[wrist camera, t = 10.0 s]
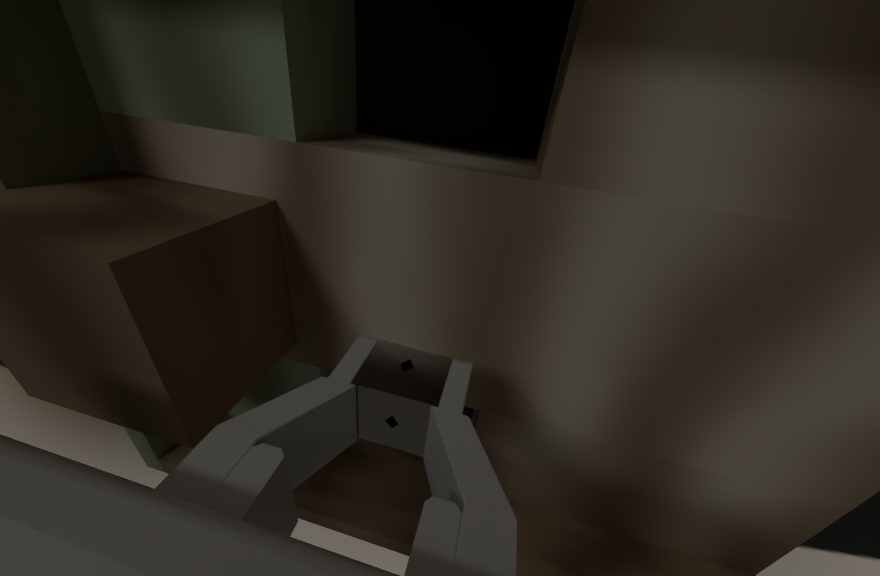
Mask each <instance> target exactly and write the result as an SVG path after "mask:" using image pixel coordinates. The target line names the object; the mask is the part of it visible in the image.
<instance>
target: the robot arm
mask: <svg viewBox="0 0 880 576" xmlns="http://www.w3.org/2000/svg"><path fill="white" fill-rule="evenodd" d="M472 367H473V363H472V362H469V361H465V360H460V359H456V358H451V357H446V356H442V355H438V354H434V353H430V352H426V351H422V350H417V349H413V348H410V347H406V346H402V345H399V344H395V343H391V342H388V341H384V340H379V339H375V338H372V337H368V336H364V335H361V336H360V337H358V338H357V339H356V340H355V342H354V343H353V345H352V346H351V347H350V349H349V350H348V351H347V353H346V354H345V355H344V357H343V358H342V360H341V361H340V362H339V364H338V365H337V366H336V368H335V369H334V370H333V372H332V373H331V374H330V376H329V377H328V378H327V377H323V376H322V377H320V378H318V379H316V380H314V381H311V382H309V383H307V384H305V385H303V386H301V387H299V388H296V389H294V390H292V391H290V392H288V393H286V394H283V395H281V396H279V397H277V398H275V399H273V400H271V401H268V402H266V403H264V404H262V405H260V406H258V407H256V408H253V409H251V410H249V411H247V412H245V413H243V414H241V415H238V416H236V417H234V418H232V419H230V420H228V421H226V422H223V423H221V424H219V425H217V426H216V427H215V428H214V429H213V430H212V431H211V432H210V433H209V434H208V435H207V436H206V437H205V438H204V439H203V440H202V441H201V442H200V443H199V444H198V445H197V446H196V447H195V448H194V449H193V450H192V451H191V452H190V453H189V454H188V455H187V456H186V457H185V458H184V459H183V460H182V461H181V463H180V464H179V465H178V466H177V467H176V468H175V469H174V470H173V471H172V472H171V473H170V474H169V475H168V476H167V477H166V478H165V479H164V480H163V481H162V482H161V483H160V484H159V485H158V486H157V487H156V488H155V489H153V488H150V487H148V486H145V485H142V484H139V483H136V482H133V481H131V480H128V479H125V478H122V477H119V476H116V475H114V474H111V473H108V472H105V471H102V470H99V469H97V468H94V467H91V466H88V465H85V464H82V463H80V462H77V461H73V460H71V459H68V458H65V457H62V456H60V455H56V454H54V453H51V452H48V451H46V450H43V449H40V448H37V447H34V446H31V445H29V444H26V443H23V442H20V441H17V440H14V439H12V438H9V437H6V436H2V435H0V576H399V575H396V574H393V573H391V572H388V571H385V570H382V569H379V568H377V567H374V566H371V565H368V564H365V563H362V562H360V561H357V560H354V559H351V558H348V557H345V556H343V555H340V554H337V553H334V552H331V551H328V550H326V549H322V548H320V547H317V546H314V545H311V544H309V543H306V542H303V541H300V540H297V539H295V538H292V537H290V535H291V533H292V531H293V530H294V528H295V526H296V524H297V522H298V519H297V513H296V508H295V504H294V499H293V495H292V490H293V489H295V488H296V487H297V486H299V485H300V484H301V483H302V482H304V481H305V480H306V479H308V478H309V477H310V476H311V475H313V474H314V473H315V472H317V471H318V470H319V469H320V468H322V467H323V466H324V465H326V464H327V463H328V462H329V461H331V460H332V459H333V458H335V457H336V456H337V455H338V454H340V453H341V452H342V451H344V450H345V449H346V448H347V447H349V446H350V445H351V444H353V443H354V442H355V441H356V440H357V438H360V439H364V440H368V441H371V442H375V443H379V444H383V445H387V446H390V447H393V448H396V449H399V450H403V451H406V452H409V453H412V454H415V455H418V456H421V457H424V458H423V460H424V464H425V468H426V473H427V477H428V481H429V485H430V489H431V494H432V497H431V498H429V499H428V500H426V501H425V503H424V506H423V510H422V514H421V517H420V521H419V524H418V528H417V532H416V535H415V539H414V543H413V546H412V550H411V554H410V557H409V561H408V564H407V568H406V572H405V575H404V576H516V547H517V519H516V517H515V515H514V513H513V510H512V508H511V506H510V504H509V502H508V500H507V498H506V495H505V493H504V491H503V489H502V487H501V485H500V482H499V480H498V478H497V476H496V474H495V472H494V470H493V467H492V465H491V463H490V461H489V459H488V457H487V455H486V452H485V450H484V448H483V446H482V444H481V442H480V439H479V437H478V435H477V433H476V431H475V429H474V427H473V424H472V422H471V420H470V418H469V416H466V415H463V410H464V405H465V400H466V396H467V391H468V386H469V381H470V377H471V372H472Z"/></svg>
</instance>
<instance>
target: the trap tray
mask: <svg viewBox="0 0 880 576" xmlns="http://www.w3.org/2000/svg"><path fill="white" fill-rule="evenodd" d="M118 171H128V172H133V173H138V174H143V175H148V176H154V177H159V178H164V179H169V180H175V181H180V182H185V183H190V184H196V185H201V186H206V187H211V188H216V189H222V190H227V191H232V192H237V193H243V194H248V195H253V196H258V197H264V198H269V199H274V200H276V202H277V209H278V216H279V223H280V230H281V237H282V243H283V250H284V257H285V264H286V271H287V278H288V284H289V291H290V298H291V305H292V312H293V318H294V325H295V332H296V339H297V343H296V344H295V345H294V346H293V347H292V348H291V349H290V350H289V351H288V352H287V353H286V354H285V355H284V356H283V357H282V358H281V359H280V360H279V361H278V362H277V363H276V364H275V365H274V366H273V367H272V368H271V369H270V370H269V371H268V372H267V373H266V374H265V375H264V377H263V378H262V379H261V380H260V381H259V382H258V383H257V384H256V385H255V386H254V387H253V388H252V389H251V390H250V391H249V392H248V393H247V394H246V395H245V396H244V397H243V398H242V399H241V400H240V401H239V402H238V403H237V404H236V405H235V406H234V407H233V408H232V409H231V410H230V411H229V412H228V413H227V415H226V416H225V417H224V418H223V419H222V420H221V421H220V422H219V423H218V424H217V425H219V424H221V423H223V422H226V421H228V420H230V419H232V418H234V417H236V416H238V415H241V414H243V413H245V412H247V411H249V410H251V409H253V408H256V407H258V406H260V405H262V404H264V403H266V402H268V401H271V400H273V399H275V398H277V397H279V396H281V395H283V394H286V393H288V392H290V391H292V390H294V389H296V388H299V387H301V386H303V385H305V384H307V383H309V382H311V381H314V380H316V379H318V378H320V377H322V376H323V377H327V378H328V377H329V376H330V374H331V373H332V372H333V370H334V369H335V368H336V366H337V365H338V364H339V362H340V361H341V360H342V358H343V357H344V355H345V354H346V353H347V351H348V350H349V349H350V347H351V346H352V345H353V343H354V342H355V340H356V339H357V338H358V337H360V336H361V335H364V336H368V337H372V338H375V339H379V340H384V341H388V342H391V343H395V344H399V345H402V346H406V347H410V348H413V349H417V350H422V351H426V352H430V353H434V354H438V355H442V356H446V357H451V358H456V359H460V360H465V361H469V362H472V363H473V367H472V372H471V377H470V381H469V386H468V391H467V396H466V400H465V405H464V406H465V407H469V408H473V409H474V413H473V417H472V418H470V420H471V422H472V424H473V427H474V429H475V431H476V433H477V435H478V437H479V439H480V442H481V444H482V446H483V448H484V450H485V452H486V455H487V457H488V459H489V461H490V463H491V465H492V467H493V470H494V472H495V474H496V476H497V478H498V480H499V482H500V485H501V487H502V489H503V491H504V493H505V495H506V498H507V500H508V502H509V504H510V506H511V508H512V510H513V513H514V515H515V517H516V519H517V547H516V576H756V574H758V573H759V572H761V571H762V570H764V569H765V568H766V567H768V566H770V565H771V564H772V563H774V562H775V561H777V560H778V559H780V558H781V557H783V556H784V555H786V554H787V553H789V552H790V551H792V550H793V549H795V548H796V547H798V546H799V545H801V544H802V543H804V542H805V541H807V540H808V539H809V538H811V537H812V536H814V535H815V534H817V533H818V532H820V531H821V530H823V529H824V528H826V527H827V526H829V525H830V524H832V523H833V522H835V521H836V520H838V519H839V518H840V517H842V516H843V515H845V514H846V513H848V512H849V511H851V510H852V509H854V508H855V507H857V506H858V505H860V504H861V503H863V502H864V501H866V500H867V499H869V498H870V497H871V496H873V495H874V494H876V493H877V492H879V491H880V0H575V2H574V6H573V10H572V14H571V18H570V22H569V26H568V30H567V34H566V38H565V42H564V46H563V50H562V54H561V58H560V63H559V67H558V71H557V75H556V79H555V83H554V87H553V91H552V95H551V99H550V103H549V107H548V111H547V115H546V120H545V124H544V128H543V132H542V136H541V140H540V144H539V148H538V152H537V156H536V159H529V158H522V157H516V156H509V155H503V154H496V153H490V152H483V151H477V150H470V149H463V148H457V147H450V146H444V145H437V144H431V143H424V142H417V141H411V140H404V139H398V138H391V137H385V136H378V135H371V134H365V133H358V132H357V102H356V44H355V0H0V191H1V190H7V189H13V188H20V187H26V186H32V185H38V184H44V183H50V182H56V181H63V180H69V179H75V178H81V177H87V176H93V175H99V174H106V173H112V172H118ZM217 425H216V426H217ZM216 426H215V427H216ZM215 427H214V428H215ZM124 428H125V429H126V431H127V433H128V434H129V436H130V438H131V439H132V441H133V443H134V445H135V446H136V448H137V450H138V451H139V453H140V455H141V456H142V458H143V460H144V461H145V463H146V464H147V466H148V467H151V468H154V469H157V470H160V471H163V472H166V473H169V474H170V473H171V472H172V471H173V470H174V469H175V468H176V467H177V466H178V465H179V464H180V463H181V461H182V460H183V459H184V458H185V457H186V456H187V455H188V454H189V453H190V452H191V451H192V450H193V449H194V448H195V447H196V446H197V445H198V444H199V443H200V442H201V441H202V440H203V439H204V438H205V437H206V436H207V435H208V434H209V433H210V432H211V431H212V430H213V429H214V428H213V429H212V430H211V431H210V432H209V433H208V434H207V435H206V436H205V437H204V438H203V439H202V440H201V441H200V442H199V443H198V444H197V445H196V446H195V447H194V448H193V449H191V448H188V447H185V446H182V445H178V444H175V443H172V442H169V441H166V440H163V439H160V438H157V437H154V436H151V435H148V434H145V433H142V432H139V431H136V430H133V429H129V428H126V427H124ZM423 458H424V457H421V456H418V455H415V454H412V453H409V452H406V451H403V450H399V449H396V448H393V447H390V446H387V445H383V444H379V443H375V442H371V441H368V440H364V439H360V438H357V440H356V441H355V442H354V443H353V444H351V445H350V446H349V447H347V448H346V449H345V450H344V451H342V452H341V453H340V454H338V455H337V456H336V457H335V458H333V459H332V460H331V461H329V462H328V463H327V464H326V465H324V466H323V467H322V468H320V469H319V470H318V471H317V472H315V473H314V474H313V475H311V476H310V477H309V478H308V479H306V480H305V481H304V482H302V483H301V484H300V485H299V486H297V487H296V488H295V489H293V490H292V495H293V499H294V504H295V508H296V513H297V518H300V519H303V520H306V521H308V522H311V523H314V524H317V525H320V526H323V527H326V528H329V529H332V530H335V531H338V532H340V533H343V534H346V535H349V536H352V537H355V538H358V539H361V540H364V541H367V542H370V543H372V544H375V545H378V546H381V547H384V548H387V549H390V550H393V551H396V552H399V553H402V554H404V555H407V556H410V554H411V550H412V546H413V543H414V539H415V535H416V532H417V528H418V524H419V521H420V517H421V514H422V510H423V506H424V503H425V501H426V500H428V499H429V498H431V497H432V494H431V489H430V485H429V481H428V477H427V473H426V468H425V464H424V460H423Z"/></svg>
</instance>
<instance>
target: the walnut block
mask: <svg viewBox="0 0 880 576" xmlns="http://www.w3.org/2000/svg"><path fill="white" fill-rule="evenodd" d="M296 343H297V339H296V332H295V325H294V318H293V312H292V305H291V298H290V291H289V284H288V278H287V271H286V264H285V257H284V250H283V243H282V237H281V230H280V223H279V216H278V209H277V202H276V200H274V199H269V198H264V197H258V196H253V195H248V194H243V193H237V192H232V191H227V190H222V189H216V188H211V187H206V186H201V185H196V184H190V183H185V182H180V181H175V180H169V179H164V178H159V177H154V176H148V175H143V174H138V173H133V172H128V171H118V172H112V173H106V174H99V175H93V176H87V177H81V178H75V179H69V180H63V181H56V182H50V183H44V184H38V185H32V186H26V187H20V188H13V189H7V190H1V191H0V359H1V360H2V361H3V363H4V364H5V365H6V367H7V368H8V369H9V370H10V372H11V373H12V374H13V376H14V377H15V378H16V380H17V381H18V382H19V383H20V385H21V386H22V387H23V388H24V390H25V391H26V392H27V394H28V395H29V396H32V397H35V398H38V399H41V400H44V401H47V402H50V403H53V404H56V405H59V406H62V407H65V408H68V409H71V410H74V411H77V412H80V413H84V414H87V415H90V416H93V417H96V418H99V419H102V420H105V421H108V422H111V423H114V424H117V425H121V426H123V427H126V428H129V429H133V430H136V431H139V432H142V433H145V434H148V435H151V436H154V437H157V438H160V439H163V440H166V441H169V442H172V443H175V444H178V445H182V446H185V447H188V448H191V449H193V448H194V447H195V446H196V445H197V444H198V443H199V442H200V441H201V440H202V439H203V438H204V437H205V436H206V435H207V434H208V433H209V432H210V431H211V430H212V429H213V428H214V427H215V426H216V425H217V424H218V423H219V422H220V421H221V420H222V419H223V418H224V417H225V416H226V415H227V413H228V412H229V411H230V410H231V409H232V408H233V407H234V406H235V405H236V404H237V403H238V402H239V401H240V400H241V399H242V398H243V397H244V396H245V395H246V394H247V393H248V392H249V391H250V390H251V389H252V388H253V387H254V386H255V385H256V384H257V383H258V382H259V381H260V380H261V379H262V378H263V377H264V375H265V374H266V373H267V372H268V371H269V370H270V369H271V368H272V367H273V366H274V365H275V364H276V363H277V362H278V361H279V360H280V359H281V358H282V357H283V356H284V355H285V354H286V353H287V352H288V351H289V350H290V349H291V348H292V347H293V346H294V345H295V344H296Z"/></svg>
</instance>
